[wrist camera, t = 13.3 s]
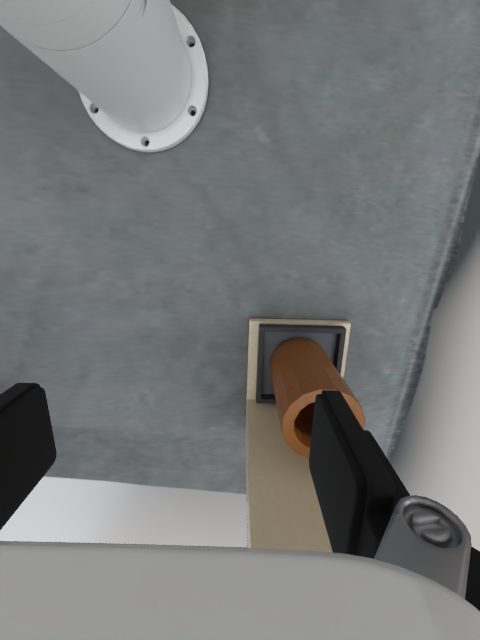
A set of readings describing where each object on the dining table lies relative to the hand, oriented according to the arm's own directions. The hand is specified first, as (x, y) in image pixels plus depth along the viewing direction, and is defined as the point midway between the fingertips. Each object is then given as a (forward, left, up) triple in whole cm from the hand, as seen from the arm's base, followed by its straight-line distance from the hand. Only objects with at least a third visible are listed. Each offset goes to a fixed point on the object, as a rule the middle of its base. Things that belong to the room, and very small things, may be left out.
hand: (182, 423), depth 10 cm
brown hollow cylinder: (+9, +9, -24) cm, 28 cm away
